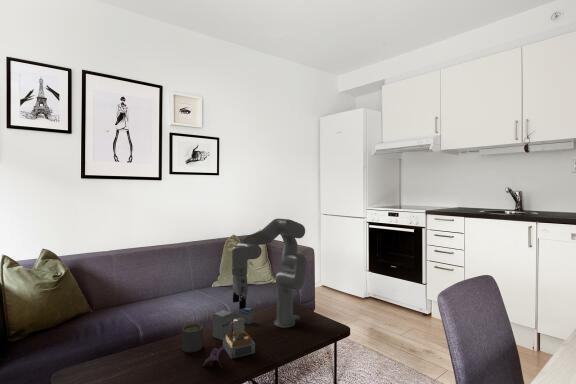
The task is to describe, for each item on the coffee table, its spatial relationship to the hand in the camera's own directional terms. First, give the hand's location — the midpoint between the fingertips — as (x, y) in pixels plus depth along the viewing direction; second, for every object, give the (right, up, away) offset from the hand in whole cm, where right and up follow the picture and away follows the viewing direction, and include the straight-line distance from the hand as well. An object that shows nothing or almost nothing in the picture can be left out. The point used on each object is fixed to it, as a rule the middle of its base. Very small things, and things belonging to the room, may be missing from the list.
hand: (239, 305), depth 164 cm
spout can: (-1, -17, 0) cm, 17 cm away
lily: (-9, -23, -15) cm, 28 cm away
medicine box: (-1, -22, +34) cm, 40 cm away
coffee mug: (-25, -22, +3) cm, 33 cm away
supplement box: (-11, -22, +15) cm, 29 cm away
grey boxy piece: (0, -22, 0) cm, 22 cm away
